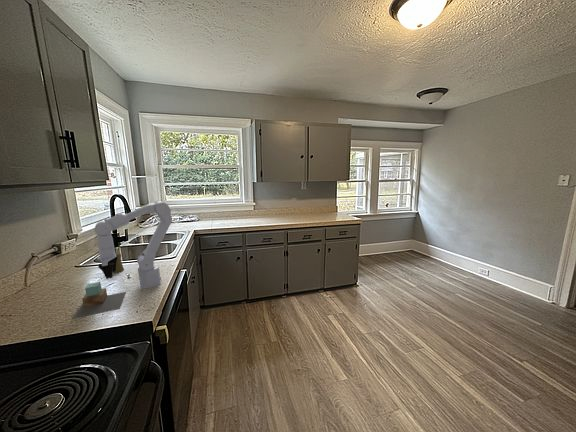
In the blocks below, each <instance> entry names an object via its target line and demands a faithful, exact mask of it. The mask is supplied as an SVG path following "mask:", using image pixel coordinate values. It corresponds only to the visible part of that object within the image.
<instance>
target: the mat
mask: <svg viewBox="0 0 576 432" xmlns="http://www.w3.org/2000/svg"><path fill="white" fill-rule="evenodd" d="M126 294H127V291H123V292H119V293H114V294H113V293H112V294H107V298H106V299H105V301H104V303H102V304H97V305H92V306H88V307H84V306H83V303H82V304H81V305H80V307H79V308H78V310H77V311H76V312H75V314H74V315H73V317H72V318H71V319H72V320H75V319H80V318H85V317H88V316H89V317H90V316H93V315H97V314H102V313H107V312H111V311H117V310H120V309H121V307H122V304H123V302H124V299H125V296H126Z"/></svg>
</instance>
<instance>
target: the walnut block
mask: <svg viewBox="0 0 576 432" xmlns="http://www.w3.org/2000/svg"><path fill="white" fill-rule="evenodd" d="M107 295H108V292H107V288H106V287H103V288H102V290H101V292H100V294H98V295H93V296H88V297H87V296H86V293H85V294H84V295H83V297H82V298H81V300H82V301H81V302H82V304H83V306H84V307H88V306H92V305H97V304H102V303H104V301H105V299H106V298H107Z"/></svg>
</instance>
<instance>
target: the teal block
mask: <svg viewBox="0 0 576 432" xmlns="http://www.w3.org/2000/svg"><path fill="white" fill-rule="evenodd" d="M102 289H103V288H102V283H101V281H97V282H93V283H92V282H90V283H87V285H86V286H85V288H84V290H85V291H84V292H85V294H86V296H87V297H88V296H93V295H98V294H100V292H101V290H102Z"/></svg>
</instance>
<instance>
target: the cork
mask: <svg viewBox="0 0 576 432" xmlns="http://www.w3.org/2000/svg"><path fill="white" fill-rule="evenodd" d="M115 254H116V256H118V259H117V263H116V271H115V272H113V274H119V272H120V273H122V272H125V271H124V270H125V268H124V266H123V263H122V259H121V258H122V254H121V253H120V252H115Z"/></svg>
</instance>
